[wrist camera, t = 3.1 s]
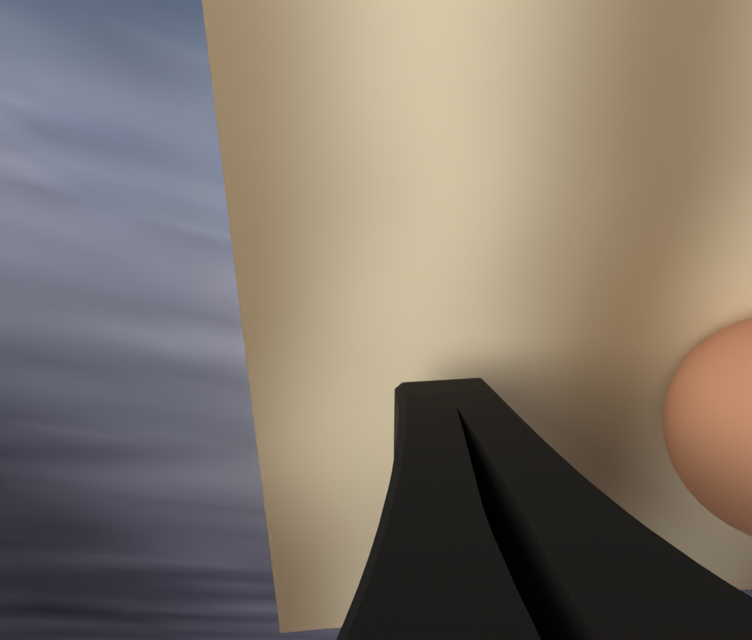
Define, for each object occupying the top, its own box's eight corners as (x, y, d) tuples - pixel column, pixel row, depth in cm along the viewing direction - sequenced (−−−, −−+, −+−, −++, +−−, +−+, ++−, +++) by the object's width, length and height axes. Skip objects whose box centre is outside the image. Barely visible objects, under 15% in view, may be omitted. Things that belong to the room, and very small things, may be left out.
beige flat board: (283, 543, 16) (280, 633, 14) (219, -44, 10) (196, -44, 8) (932, 490, 18) (1020, 563, 16) (1241, -47, 11) (1464, -50, 9)
